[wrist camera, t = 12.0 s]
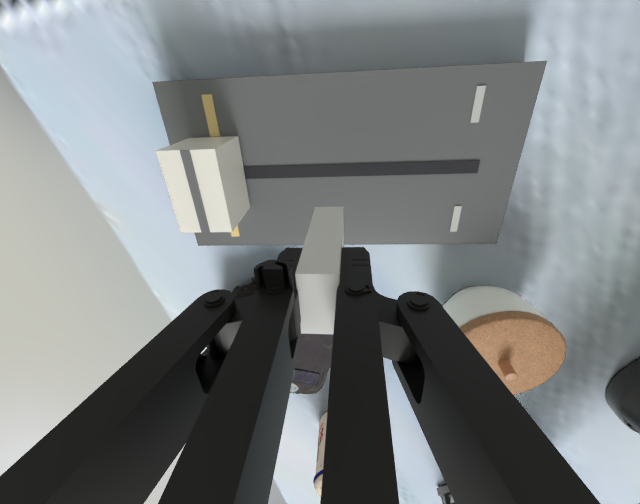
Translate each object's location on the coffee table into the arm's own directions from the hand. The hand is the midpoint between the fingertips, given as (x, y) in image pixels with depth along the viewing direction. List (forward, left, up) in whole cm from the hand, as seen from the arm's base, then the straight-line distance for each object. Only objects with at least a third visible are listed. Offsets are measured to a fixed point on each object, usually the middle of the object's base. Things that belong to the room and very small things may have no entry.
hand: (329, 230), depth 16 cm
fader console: (0, -1, -13) cm, 13 cm away
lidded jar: (-15, +16, -14) cm, 26 cm away
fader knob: (+10, -1, -10) cm, 14 cm away
